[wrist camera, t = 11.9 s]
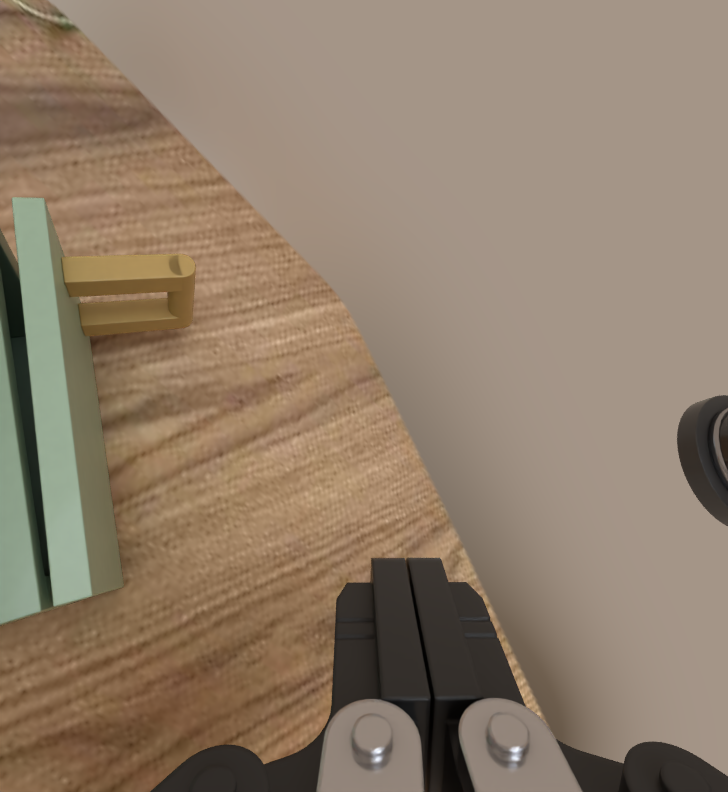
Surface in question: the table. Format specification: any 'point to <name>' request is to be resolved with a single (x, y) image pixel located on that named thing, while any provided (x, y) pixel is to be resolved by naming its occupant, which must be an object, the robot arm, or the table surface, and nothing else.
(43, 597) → the cabinet
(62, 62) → the table surface
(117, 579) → the cabinet door
